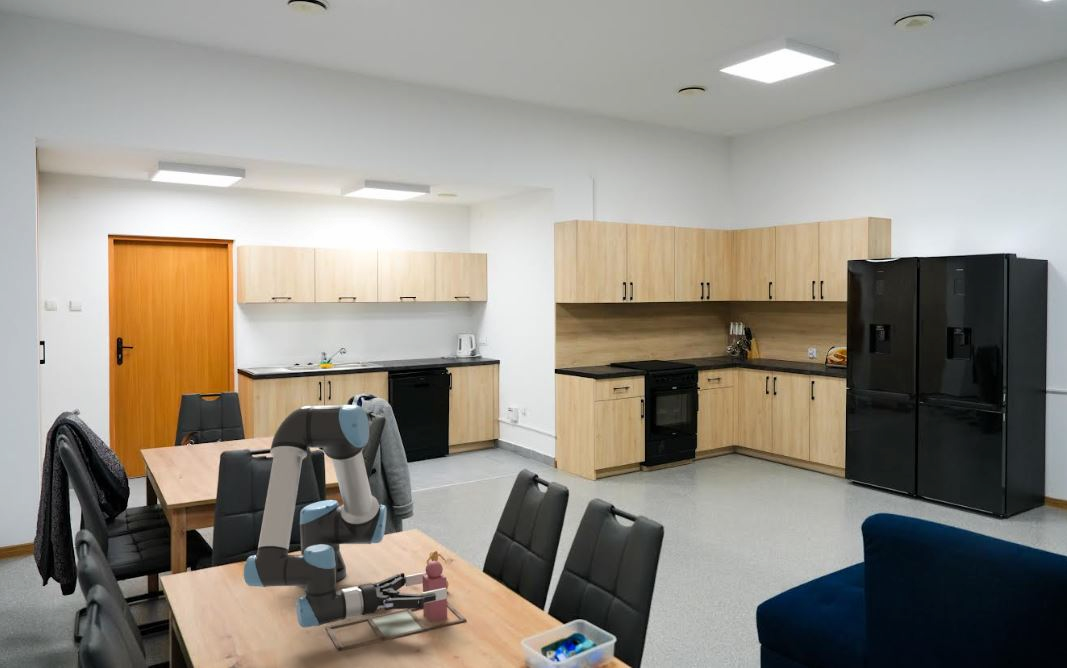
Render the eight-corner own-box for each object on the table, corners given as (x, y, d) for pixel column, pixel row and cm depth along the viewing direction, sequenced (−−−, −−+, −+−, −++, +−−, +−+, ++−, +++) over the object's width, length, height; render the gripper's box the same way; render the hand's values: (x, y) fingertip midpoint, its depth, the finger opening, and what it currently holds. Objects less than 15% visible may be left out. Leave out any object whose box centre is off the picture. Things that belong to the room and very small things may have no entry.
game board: (325, 628, 196) (325, 626, 196) (446, 601, 212) (446, 600, 212) (338, 651, 183) (338, 649, 183) (466, 621, 198) (466, 619, 198)
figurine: (438, 597, 215) (437, 557, 214) (422, 594, 218) (421, 553, 217) (455, 588, 222) (454, 548, 221) (439, 584, 225) (438, 545, 224)
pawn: (423, 614, 203) (422, 560, 203) (440, 610, 206) (439, 556, 205) (429, 621, 199) (428, 565, 198) (447, 617, 201) (445, 562, 201)
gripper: (347, 598, 203) (421, 583, 213) (373, 633, 181) (454, 614, 191) (347, 571, 203) (421, 557, 213) (372, 603, 181) (453, 586, 191)
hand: (437, 584), depth 202 cm, fingers open, 13 cm apart
